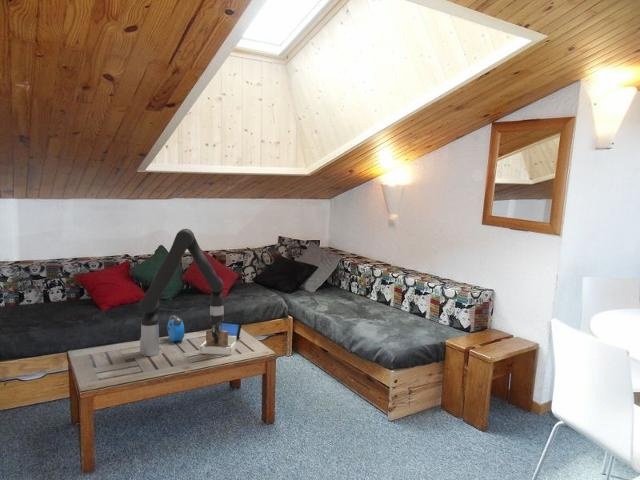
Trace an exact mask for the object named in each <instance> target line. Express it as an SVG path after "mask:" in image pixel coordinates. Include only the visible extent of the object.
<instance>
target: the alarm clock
mask: <svg viewBox="0 0 640 480" xmlns="http://www.w3.org/2000/svg"><path fill="white" fill-rule="evenodd" d="M167 334H168V337H169V338H168V339H169V340H170V341H171V342H178V341H181V342H182V341H183V340H184V338H185V326H184V322H183V320H182V318H180V317H178V316H177V315H171V316H170V317H169V320H168V323H167Z"/></svg>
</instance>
